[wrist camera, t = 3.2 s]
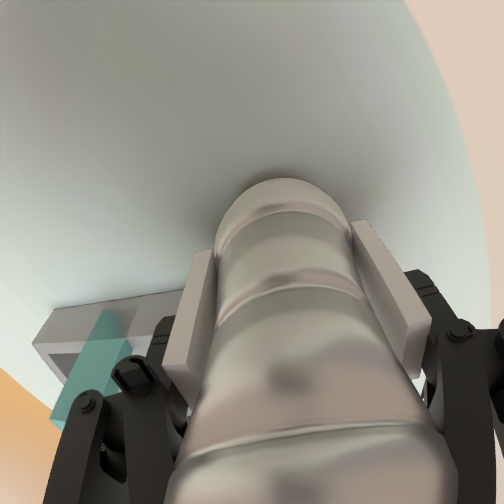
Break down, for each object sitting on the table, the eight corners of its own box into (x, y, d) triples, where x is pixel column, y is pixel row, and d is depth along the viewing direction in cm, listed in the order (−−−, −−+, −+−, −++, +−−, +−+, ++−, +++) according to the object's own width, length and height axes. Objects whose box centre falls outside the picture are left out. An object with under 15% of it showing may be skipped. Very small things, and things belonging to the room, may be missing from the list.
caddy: (54, 309, 21) (-6, 407, 12) (223, 282, 20) (204, 428, 11) (130, 413, 28) (108, 497, 19) (267, 406, 26) (269, 509, 18)
